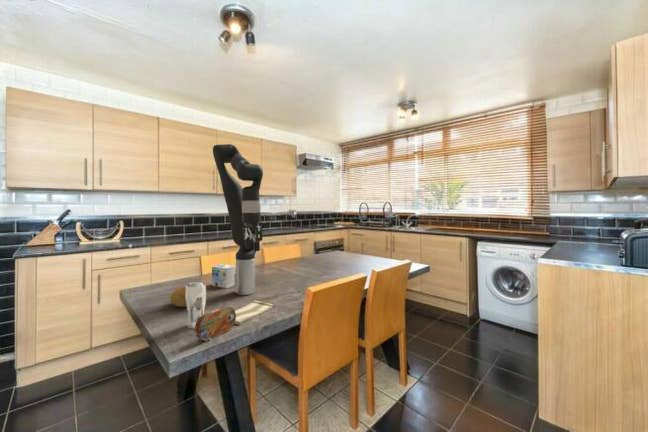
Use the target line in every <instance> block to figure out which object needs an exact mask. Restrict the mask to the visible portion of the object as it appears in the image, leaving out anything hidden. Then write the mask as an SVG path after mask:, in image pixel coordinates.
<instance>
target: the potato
mask: <svg viewBox="0 0 648 432" xmlns="http://www.w3.org/2000/svg"><path fill="white" fill-rule="evenodd" d="M185 295H186V285H182V286H178V287H176V288H175V289H174V290H173V292H171V295H170V298H169V299H170V303H171V304H172V305H174V306H175V307H178V308H179V307H181V308H183V307H187V306H186V298H185Z"/></svg>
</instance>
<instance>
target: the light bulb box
mask: <svg viewBox="0 0 648 432" xmlns="http://www.w3.org/2000/svg"><path fill="white" fill-rule="evenodd" d="M235 273H236V265H230V264H221V263H220V264H216V265H212V266H211V286H213V287H218V288H224V289H228V288H232V287H233V286H234V274H235Z"/></svg>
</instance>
